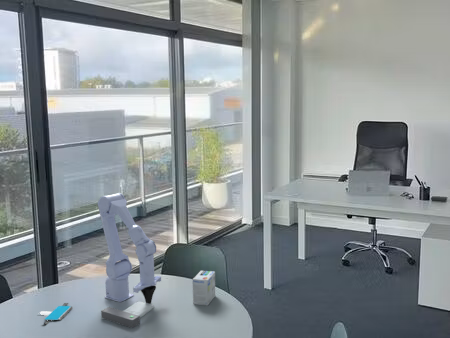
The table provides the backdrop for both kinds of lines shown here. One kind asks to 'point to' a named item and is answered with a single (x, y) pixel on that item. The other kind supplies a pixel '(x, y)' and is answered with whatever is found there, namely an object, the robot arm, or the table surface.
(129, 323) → the charging dock
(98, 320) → the table surface
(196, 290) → the light bulb box
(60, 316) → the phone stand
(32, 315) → the table surface
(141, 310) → the external hard drive
